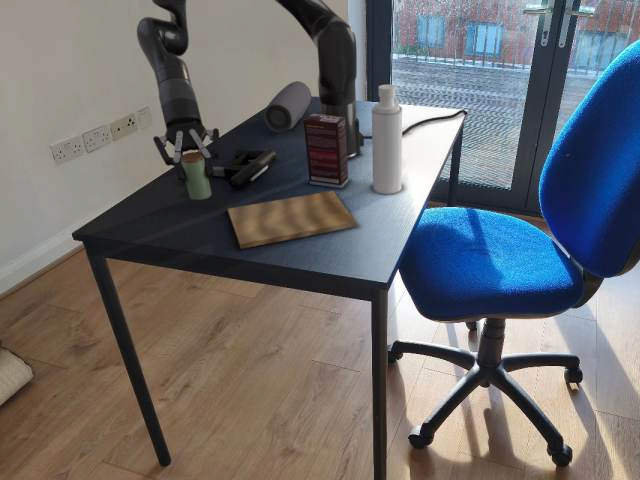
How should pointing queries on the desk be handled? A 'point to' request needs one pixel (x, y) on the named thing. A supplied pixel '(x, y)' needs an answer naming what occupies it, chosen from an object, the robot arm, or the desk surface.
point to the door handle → (242, 173)
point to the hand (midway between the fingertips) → (197, 178)
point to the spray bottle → (387, 142)
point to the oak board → (289, 219)
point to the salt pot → (196, 176)
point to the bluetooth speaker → (287, 107)
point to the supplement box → (326, 150)
